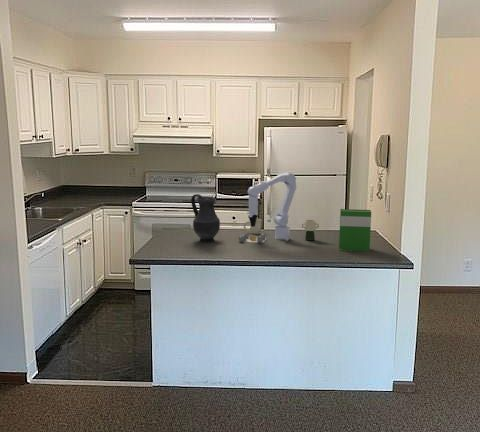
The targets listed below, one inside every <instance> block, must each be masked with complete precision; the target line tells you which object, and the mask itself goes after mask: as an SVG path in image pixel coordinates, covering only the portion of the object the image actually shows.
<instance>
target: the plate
mask: <svg viewBox="0 0 480 432" xmlns="http://www.w3.org/2000/svg"><path fill="white" fill-rule="evenodd" d="M266 240H267V238H265V240H263V242H262V244H263V243H264V242H265V241H266ZM245 242H247V243H248V242H249V243H257V240H256V241H251V240H250V237H249V238H248V239H246V241H244V242H243V243H245Z"/></svg>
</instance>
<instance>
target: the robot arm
mask: <svg viewBox="0 0 480 432" xmlns="http://www.w3.org/2000/svg"><path fill="white" fill-rule="evenodd" d="M296 181H297V177H296V176H295V174H294V173H292V172H291V173H290V172H286V171H284V172H282V173H280V174H278V175H276V176H275V177H273V178H270V179H269V180H267V181H265V180H261V181H260V182H259V183H257V184H254V185H253V186H249V187H248V190H247V194H248V211H246V214H248V216H247V217H248V219H249V222H250V223H251V227H255V224H256V220H257V219H258V217H259V212H258V210H259V209H258V208H259V207H258V205H259V204H258V203H259V202H258V201H259V199H258V198H259V194H261V193H264V192H265V191H267V190H268V189H269V188H270V186H273V185H275V184H278V183H281V182H282V183H284V184H285V186H286V188H287V189H286V191H285V194H284V198H283V200H282V202H281V205H280V206H281V207H280V209H279V211H277V213H276V215H275V216H274V217H273V222H274V225H275V226H274V238H275V239H276V240H284V241H285V242H287V241H289V240H290V237H291V236H290V235H291V234H290V231H291V230H290V229H291V228H290V227H291V226H287V225H288V223H289V220H288V219H289V214H288V213H289V209H290V207H291V204H292V201H293V198H294V196H295V193H296V191H297V182H296ZM250 223H249V224H250Z"/></svg>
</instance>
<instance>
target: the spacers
mask: <svg viewBox="0 0 480 432" xmlns="http://www.w3.org/2000/svg"><path fill="white" fill-rule="evenodd" d="M248 238H250V233H249V232H244V233H243V234H241V235H240V236H238V243H243V244H244V243H245V242H244V241H246V239H248ZM265 239H266V233H260V235H258V236H257V242H256V243H257V244H258V245H262V244H263V243H264V242H263V240H265ZM265 241H266V240H265ZM262 242H263V243H262Z"/></svg>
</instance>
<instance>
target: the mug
mask: <svg viewBox="0 0 480 432" xmlns="http://www.w3.org/2000/svg"><path fill="white" fill-rule="evenodd" d="M247 224H249V226H250V229H247V228H246V226H247ZM261 227H262V219H261V218H257V220H256V224H255V227H251V223H250V221H245V222H244V223H243V229H244V230H245V232H250V233H251V234H257V235H258V234H260V235H261Z"/></svg>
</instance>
